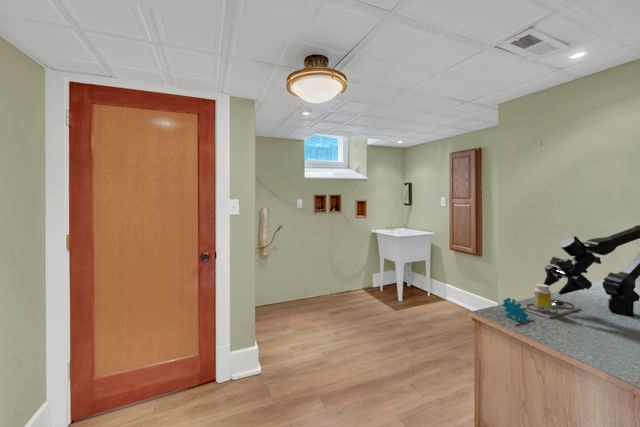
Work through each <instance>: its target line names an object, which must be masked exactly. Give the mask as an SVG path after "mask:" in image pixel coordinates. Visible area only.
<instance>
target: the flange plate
mask: <svg viewBox="0 0 640 427" xmlns="http://www.w3.org/2000/svg"><path fill="white" fill-rule="evenodd" d="M520 308H527V310H526V311H525V312H529V313H532V314H535V315H538V316H541V317H544V318H547V319H552V318H556V317H558V316H562V315H565V314H569V313H572V312H575V311H576V312H577V311H580V310H581V306H578V305H576V304H574V303H570V302H567V301H563V300H560V299H553V298H551V310H550V311H541V310H538V309H536V308H535V307H534V302H533V303H526V305H522V306H520Z"/></svg>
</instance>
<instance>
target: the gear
mask: <svg viewBox="0 0 640 427" xmlns="http://www.w3.org/2000/svg"><path fill="white" fill-rule="evenodd" d="M502 302H503V303H502V307H504V311H505V312H506V313H505V314H504V316H505V317H506V318H507V317H510V318H513V317H515V318H513V320H514V321H515V322H519V323H522V324H523V323H525V322H526V321H528V317H529V315H528V313H526V312H527V311H526V310H527V308H521V306H523V305H522V304H521V303H520V302H518V303H517V300H515V299H511V298H510V297H507V298H504V299H503V301H502Z"/></svg>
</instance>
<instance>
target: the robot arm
mask: <svg viewBox="0 0 640 427" xmlns="http://www.w3.org/2000/svg"><path fill="white" fill-rule="evenodd" d="M639 239H640V224H637V225H635V226H632V228H629V229H625V230H623V231H619V232H617V233H614V234H612V235H609V236H605V237H595V238H590V239H587V240H585V241H584V242H582V241H581V240H580V239H579V238H578V237H577V236H574V235H571V236H569V237H567V238H564V239H562V240H560V242H559V244H558V246H559V248H560V249H562V250H563V251H564V252H565V253H566V254H567V255H568V256H570V257H573V258H572V259H570V258H567V257H565V258H564V259H562V258H559V257H555V256H552V258H551V259H550V262H549V264H546V266H545V267H544V268H543V269H544V272H545V273H546V277H545V280H544V282H543V284H545V285H548V286H549V287H550V286H552V285H554V284H556V283H557V282H559V281H560V279H563V278H565V279H567V280H566V281H567V282H566V284H564V285H563V287H562V288H560V290H559V291H558V294H559V295H565V294H569V293H572V292H573V293H574V292H576V291H577V292H578V291H581V290H589V289H591V288H592V287H593V286H592V284H593V282H592V281H590V280H589V279H588V278H587V277H586V276H585V275H584V274H587V273H588V270H587V269H588V268H590V267H591V265H594V263H595V264H598V265H601V264H602V261H601V257H600V255H601V256H607V255H609V254H611V253H613V252H614V251H615V250H616V249H617V248H618V247H619V246H623V245H626V244H628V243H631V242H634V241H637V240H639ZM596 255H599V256H596ZM639 277H640V251H639V252H638V253H637V254H636V255H634V257H633V258H632V259H631V260H630V262H628V263H627V264H626V265H625V267H624V268H622V270H621V271H619V272H617V273H616V272H615V273H614V272H610V273H608V274H607V275H606V277H605V278H603V281H602V283H601V284H602V288H603V289H604V292H605V294H606V295H609V296H610V298H607V299H608V304H607V305H608V307H607V308H608V309H609V311H610V312H611V313H612V314H618V315H624V316H629V317H635V311H634V309H635V306H634V303H636V302H639V300H640V294H638V292H636V291H635V288H636V281H637V279H638V278H639Z"/></svg>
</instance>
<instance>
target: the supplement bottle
mask: <svg viewBox="0 0 640 427" xmlns="http://www.w3.org/2000/svg"><path fill="white" fill-rule="evenodd" d="M549 287H550V286H548V285H545V284H544V283H537V284H536V287H535V288H534V290H533V294H534V295H533V296H534V297H533V299H534V300H533V303H534V307H535V308H536V309H538V310H541V311H550V310H551V299H552V291H551V290H549Z"/></svg>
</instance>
